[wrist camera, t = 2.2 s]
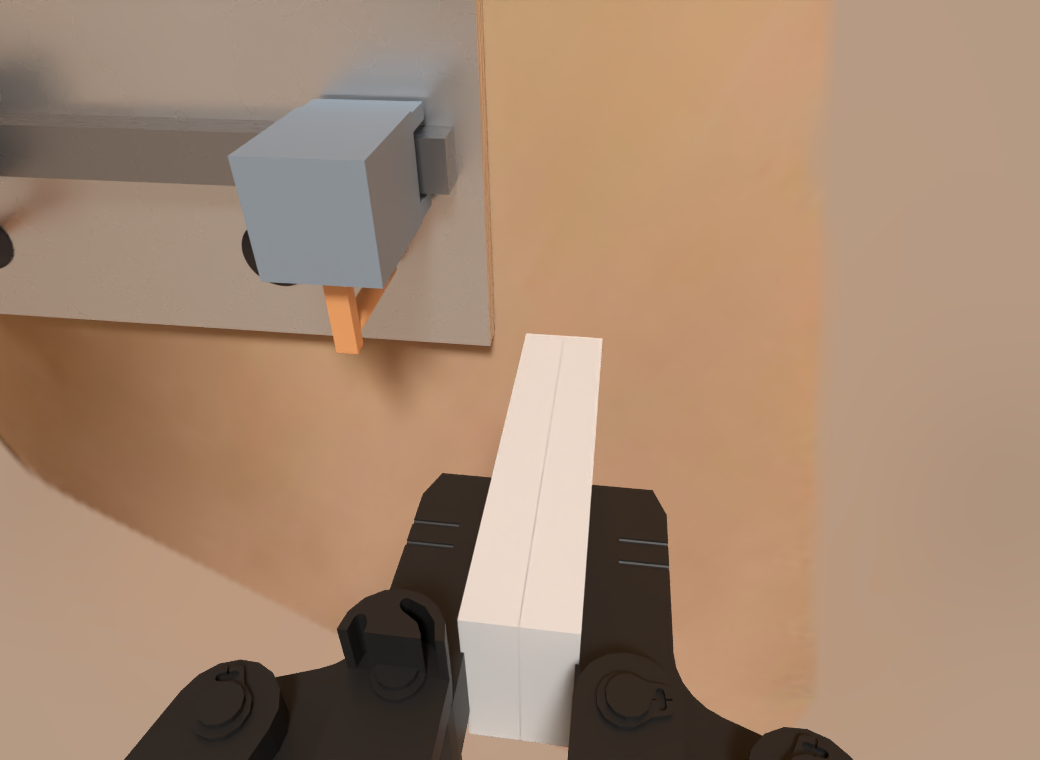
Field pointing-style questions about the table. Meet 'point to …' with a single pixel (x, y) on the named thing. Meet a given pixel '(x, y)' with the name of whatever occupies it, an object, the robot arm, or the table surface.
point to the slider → (334, 202)
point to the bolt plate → (206, 220)
